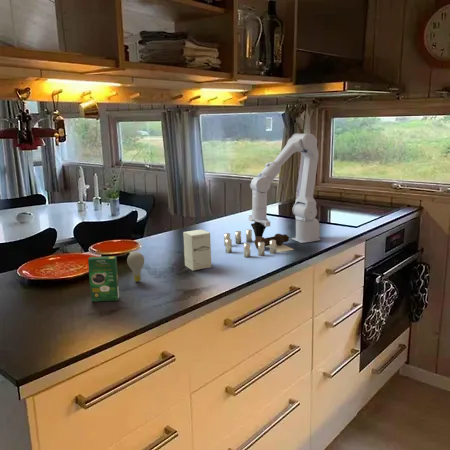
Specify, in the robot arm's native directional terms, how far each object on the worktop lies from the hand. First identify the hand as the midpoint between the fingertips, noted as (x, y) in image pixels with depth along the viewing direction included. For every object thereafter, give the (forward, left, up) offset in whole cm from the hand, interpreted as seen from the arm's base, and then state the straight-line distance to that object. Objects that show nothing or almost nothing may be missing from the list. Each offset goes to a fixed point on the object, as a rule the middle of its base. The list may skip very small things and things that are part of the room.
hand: (258, 240), depth 183 cm
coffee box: (+65, +27, -3) cm, 71 cm away
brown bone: (-6, +2, -3) cm, 7 cm away
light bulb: (+53, +16, -3) cm, 56 cm away
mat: (-7, 0, -3) cm, 7 cm away
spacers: (+6, 0, -3) cm, 7 cm away
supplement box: (+30, +11, -3) cm, 32 cm away
